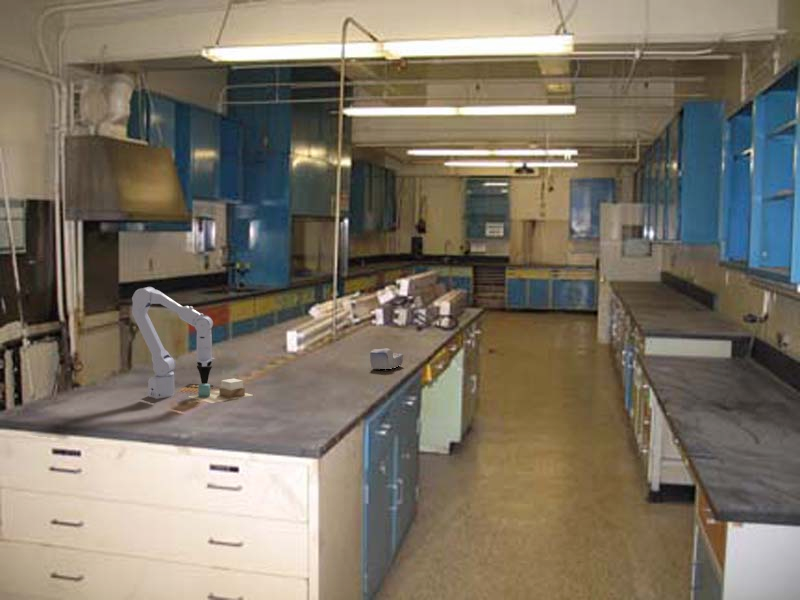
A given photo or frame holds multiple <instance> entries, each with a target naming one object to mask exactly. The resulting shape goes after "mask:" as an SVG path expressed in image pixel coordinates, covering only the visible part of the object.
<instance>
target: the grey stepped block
mask: <svg viewBox="0 0 800 600" xmlns="http://www.w3.org/2000/svg"><path fill="white" fill-rule="evenodd" d="M403 358H404V354H403V353H397V352H393V350H392V349H390V348H387V347H385V348H380V349H379V348H378V349H377V348H374V349H372V350H371V351H369V361H370V367H371V369H372V368H374V369H373V370H380V369H390V368H394V367H397V366H399V365H401V366H402V364H403V361H404V359H403Z"/></svg>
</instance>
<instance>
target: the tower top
mask: <svg viewBox="0 0 800 600" xmlns="http://www.w3.org/2000/svg"><path fill="white" fill-rule="evenodd" d="M220 382H221V384H220V386H221V387H220V388H223V389H227V390H235V389H240V388H244V380H242V379H237V378H229V379H223V380H221V381H220Z"/></svg>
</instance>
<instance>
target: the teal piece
mask: <svg viewBox="0 0 800 600" xmlns="http://www.w3.org/2000/svg"><path fill="white" fill-rule="evenodd" d="M198 384H199V385H198V393H197V395H198V396H199V397H210V392H211V389H210V385H211V384H210V383H207V384H202V383H198Z"/></svg>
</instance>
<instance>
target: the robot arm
mask: <svg viewBox="0 0 800 600" xmlns="http://www.w3.org/2000/svg"><path fill="white" fill-rule="evenodd" d="M131 300H132V308H131V315H132V317H133V318H134V321H135V323H136V325H137V327H138V329H139V332H140V334H141V335H142V338H143V339H144V341H145V344H146V346H147V348H148V350H149V352H150V354H151V362H152V370H153V372H154V376H151V377H149V378H148V381H147V384H148V386H147V388H148V389H147V396H148V397H149V398H153V399H156V400H157V399H163V398H171V397H175V373H174V370H175V368H176V365H177V364H176V363H177V362H176V360H175V359H174V358H173V357H172V356H171V355H170V352H169V351H168V350H166V349H165V347H164V345H163V342H162V341H161V339H160V337H159V335H158V332H157V331H156V329H155V326H154V324H153V322H152V320H151V318H150V316H149V314H148V312H149V310H150V307H151V306H152V305H153V304H155V305H161V306H163V307H164V308H165V307H166V308H167V309H169V310H171V311H173V312H174V313H177V314H178V318H179V319H180V320H181V321H184V322H186V323H187V324H188V325H191V326H192V327H194V329H195V331H196V359H195V360H196V364H197V365H196V369H197V370H198V372H199V376H200V382H201V384H209V383H208V381H209V377H210V373H211V370H212V368H213V366H212V365H211V364H212V361H216V358H215V357H213V356H212V355H213V351H212V350H213V349H212V348H213V347H212V345H213V339H212V338H213V337H212V336H213V335H212V328H213V326H214V321H213V319H212V318H211V316H209V315H204V313H202V312H199V311H197V310H196V309H194V307H193V306H192V305H190V306H189V305H184V306H183V305H181V304H180V303H178V302H176V301H175V300H174V299H172V298H171V297H169V296H167V295H166V294H165V293H163V292H162V291H160V290H158V289H155V288H154V287H152V286H147V287H143V288H142V287H141V288H138V289H137V290H135V292H134V293H133V295H132V297H131Z"/></svg>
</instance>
